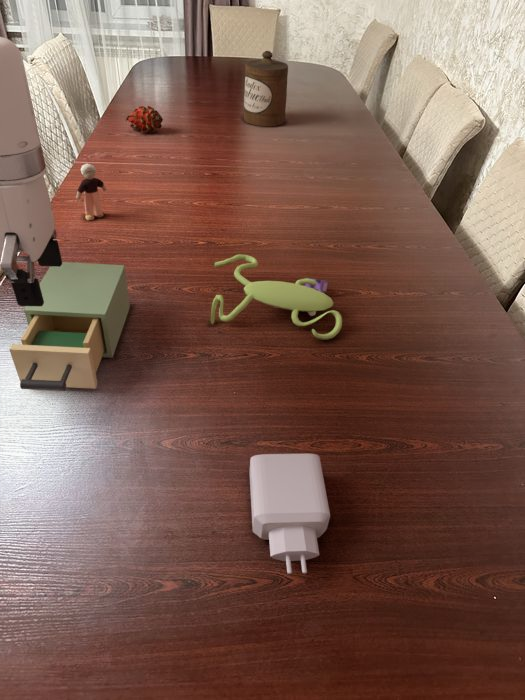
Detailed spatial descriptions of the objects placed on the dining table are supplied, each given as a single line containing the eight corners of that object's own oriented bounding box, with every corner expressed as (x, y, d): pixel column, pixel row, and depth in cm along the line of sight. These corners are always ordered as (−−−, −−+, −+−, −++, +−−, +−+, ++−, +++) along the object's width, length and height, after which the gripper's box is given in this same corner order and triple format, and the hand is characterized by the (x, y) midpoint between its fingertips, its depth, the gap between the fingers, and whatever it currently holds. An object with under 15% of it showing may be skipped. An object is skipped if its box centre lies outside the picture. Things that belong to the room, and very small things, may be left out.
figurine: (219, 270, 110) (219, 247, 106) (345, 289, 107) (350, 266, 104) (194, 322, 96) (193, 297, 92) (338, 346, 93) (343, 321, 90)
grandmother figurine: (89, 224, 122) (80, 170, 114) (77, 219, 123) (68, 166, 115) (113, 212, 127) (106, 160, 119) (102, 208, 128) (94, 156, 120)
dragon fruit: (166, 138, 172) (130, 141, 173) (166, 116, 174) (131, 119, 175) (159, 121, 164) (121, 124, 165) (159, 98, 166) (122, 101, 167)
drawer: (87, 412, 77) (79, 376, 72) (9, 408, 76) (-5, 372, 72) (115, 334, 91) (109, 299, 86) (49, 330, 90) (40, 295, 86)
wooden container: (235, 118, 188) (236, 48, 173) (265, 111, 196) (269, 44, 182) (263, 129, 180) (267, 58, 166) (293, 122, 188) (299, 53, 174)
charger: (255, 585, 60) (249, 475, 71) (334, 582, 61) (315, 474, 72) (257, 564, 57) (250, 454, 68) (340, 562, 57) (320, 453, 69)
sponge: (34, 373, 81) (27, 351, 78) (45, 352, 84) (39, 330, 82) (86, 375, 81) (82, 354, 78) (95, 354, 85) (90, 333, 82)
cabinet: (112, 357, 87) (105, 314, 81) (36, 354, 87) (23, 310, 81) (130, 306, 98) (124, 265, 93) (62, 303, 98) (53, 261, 92)
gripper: (1, 133, 67) (31, 251, 78) (-55, 190, 54) (-9, 322, 65) (61, 136, 67) (83, 252, 78) (20, 193, 54) (53, 323, 65)
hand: (41, 284), depth 72 cm, fingers open, 9 cm apart
